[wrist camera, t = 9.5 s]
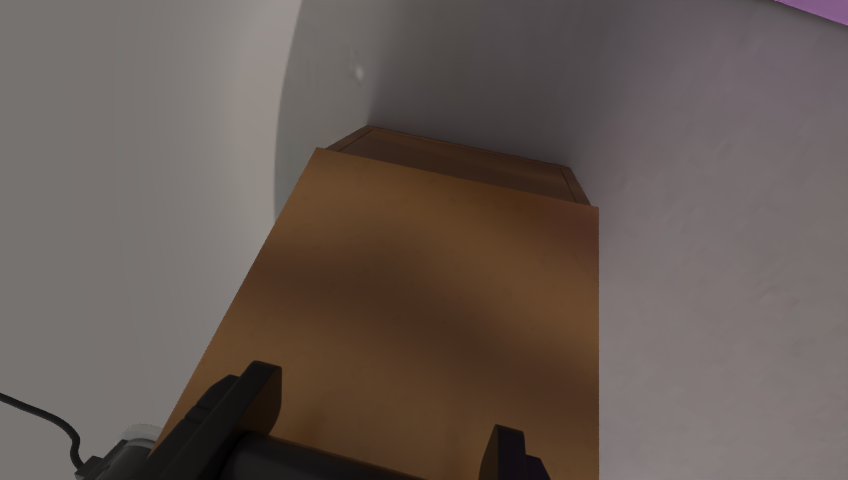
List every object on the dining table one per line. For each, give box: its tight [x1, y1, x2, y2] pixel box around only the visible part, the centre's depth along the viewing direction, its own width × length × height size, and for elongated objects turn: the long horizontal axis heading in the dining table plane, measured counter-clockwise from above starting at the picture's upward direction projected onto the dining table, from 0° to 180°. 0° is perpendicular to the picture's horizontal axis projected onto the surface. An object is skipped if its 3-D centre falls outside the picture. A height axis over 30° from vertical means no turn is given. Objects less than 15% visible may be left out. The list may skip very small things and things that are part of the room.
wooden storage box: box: [325, 126, 591, 206], centre depth 28 cm, size 16×15×8 cm
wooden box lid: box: [147, 147, 599, 480], centre depth 14 cm, size 16×15×6 cm
